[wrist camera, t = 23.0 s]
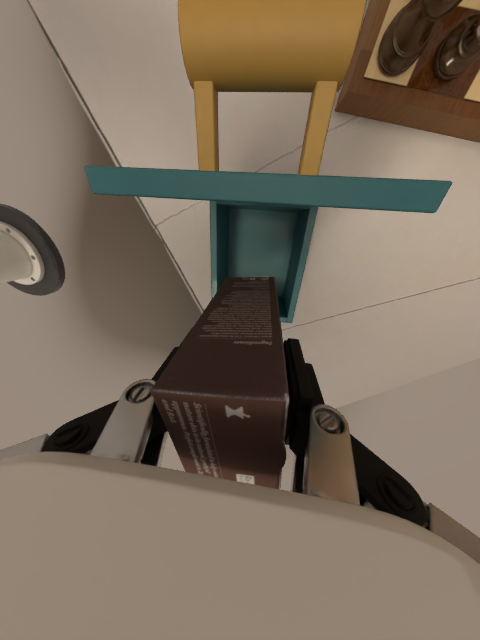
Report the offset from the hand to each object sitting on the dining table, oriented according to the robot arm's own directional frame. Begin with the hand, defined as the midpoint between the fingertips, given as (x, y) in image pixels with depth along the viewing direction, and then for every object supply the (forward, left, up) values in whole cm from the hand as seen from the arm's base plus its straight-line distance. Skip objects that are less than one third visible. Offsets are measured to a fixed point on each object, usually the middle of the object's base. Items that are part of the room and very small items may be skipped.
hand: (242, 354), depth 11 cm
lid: (0, +8, -6) cm, 10 cm away
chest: (0, +2, -23) cm, 23 cm away
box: (0, 0, -7) cm, 7 cm away
